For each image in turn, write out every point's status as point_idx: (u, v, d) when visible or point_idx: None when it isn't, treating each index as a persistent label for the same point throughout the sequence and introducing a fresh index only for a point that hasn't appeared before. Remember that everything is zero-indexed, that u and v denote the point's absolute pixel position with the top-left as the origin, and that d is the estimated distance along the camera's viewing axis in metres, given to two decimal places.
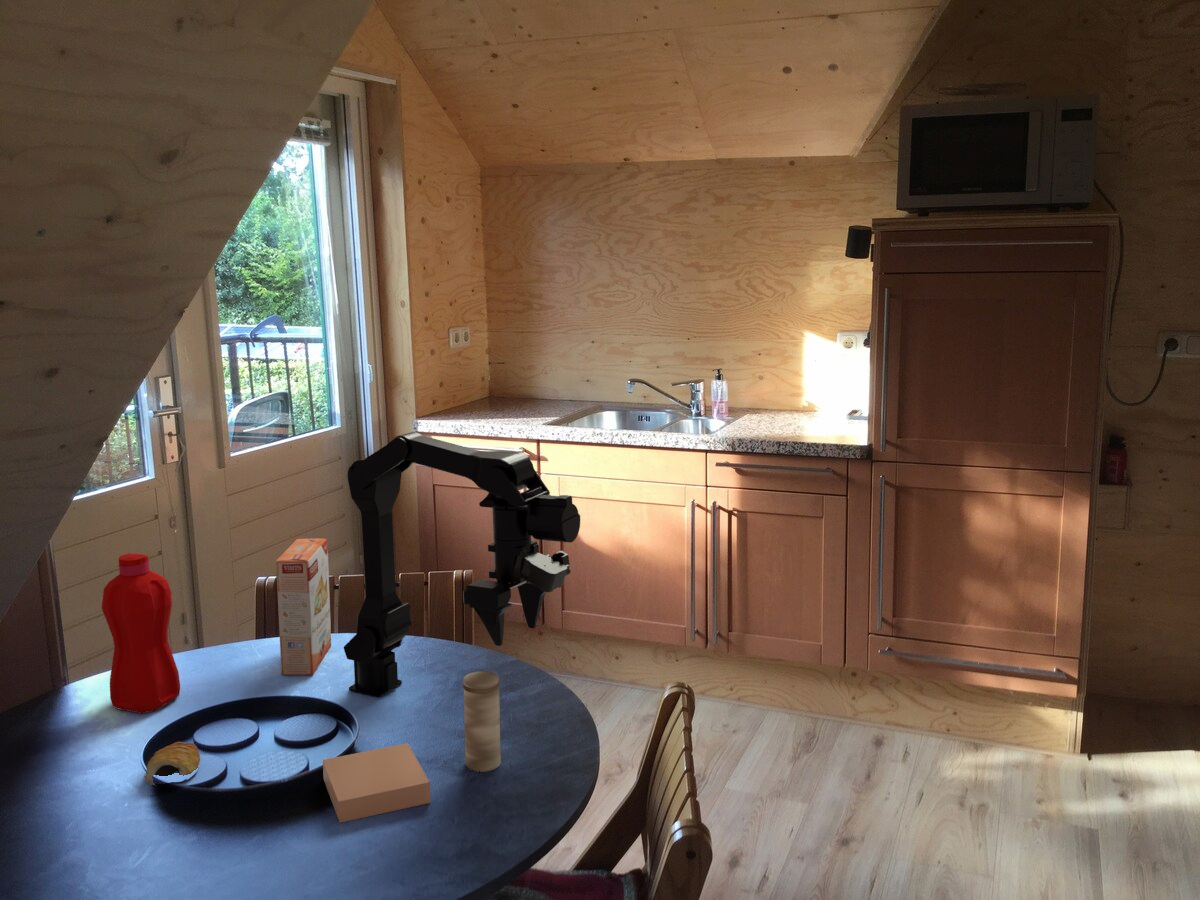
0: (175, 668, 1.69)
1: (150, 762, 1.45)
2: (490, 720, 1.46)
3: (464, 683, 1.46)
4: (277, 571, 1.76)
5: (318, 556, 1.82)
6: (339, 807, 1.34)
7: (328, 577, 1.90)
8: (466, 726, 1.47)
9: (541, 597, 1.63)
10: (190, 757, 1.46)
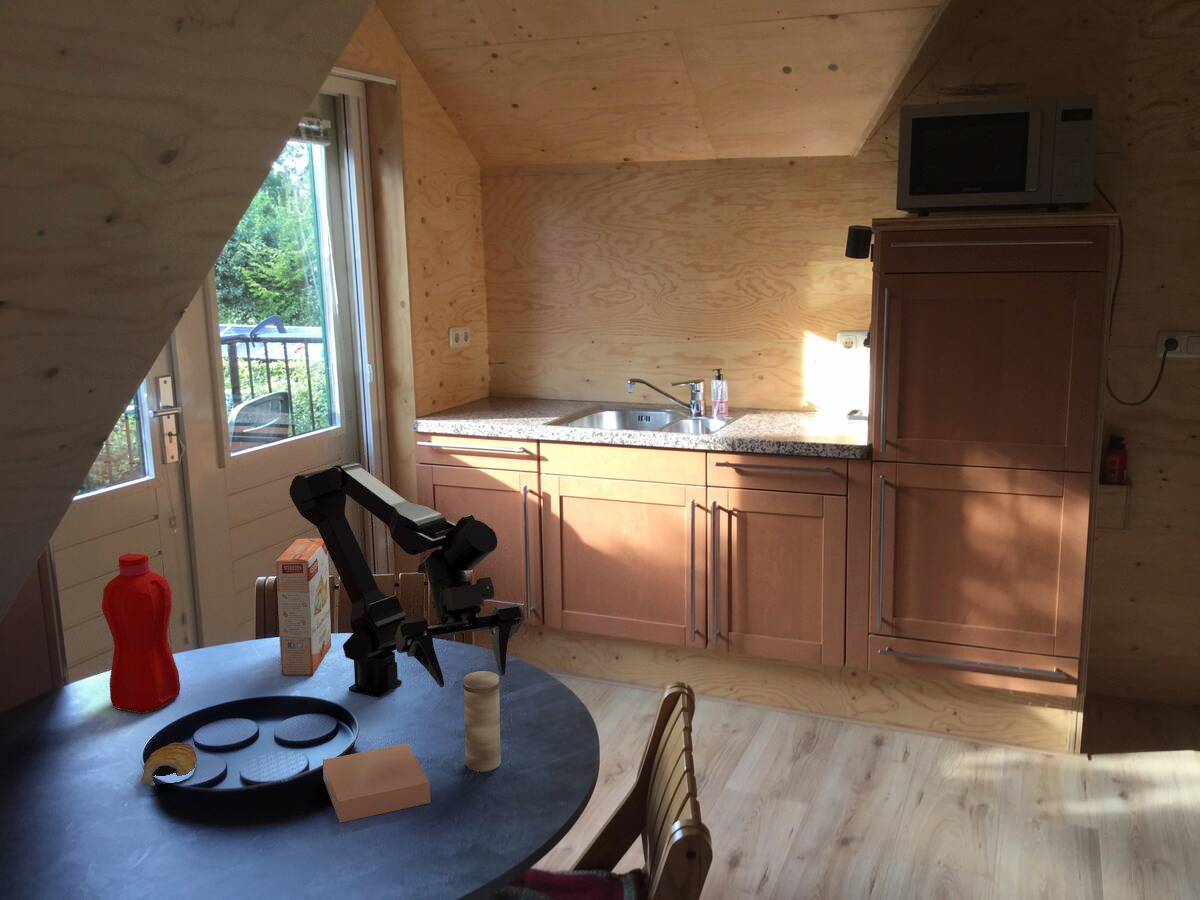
0: (175, 668, 1.69)
1: (147, 763, 1.44)
2: (490, 720, 1.46)
3: (464, 683, 1.46)
4: (277, 571, 1.76)
5: (318, 556, 1.82)
6: (339, 807, 1.34)
7: (328, 577, 1.90)
8: (466, 726, 1.47)
9: (502, 640, 1.55)
10: (187, 757, 1.46)
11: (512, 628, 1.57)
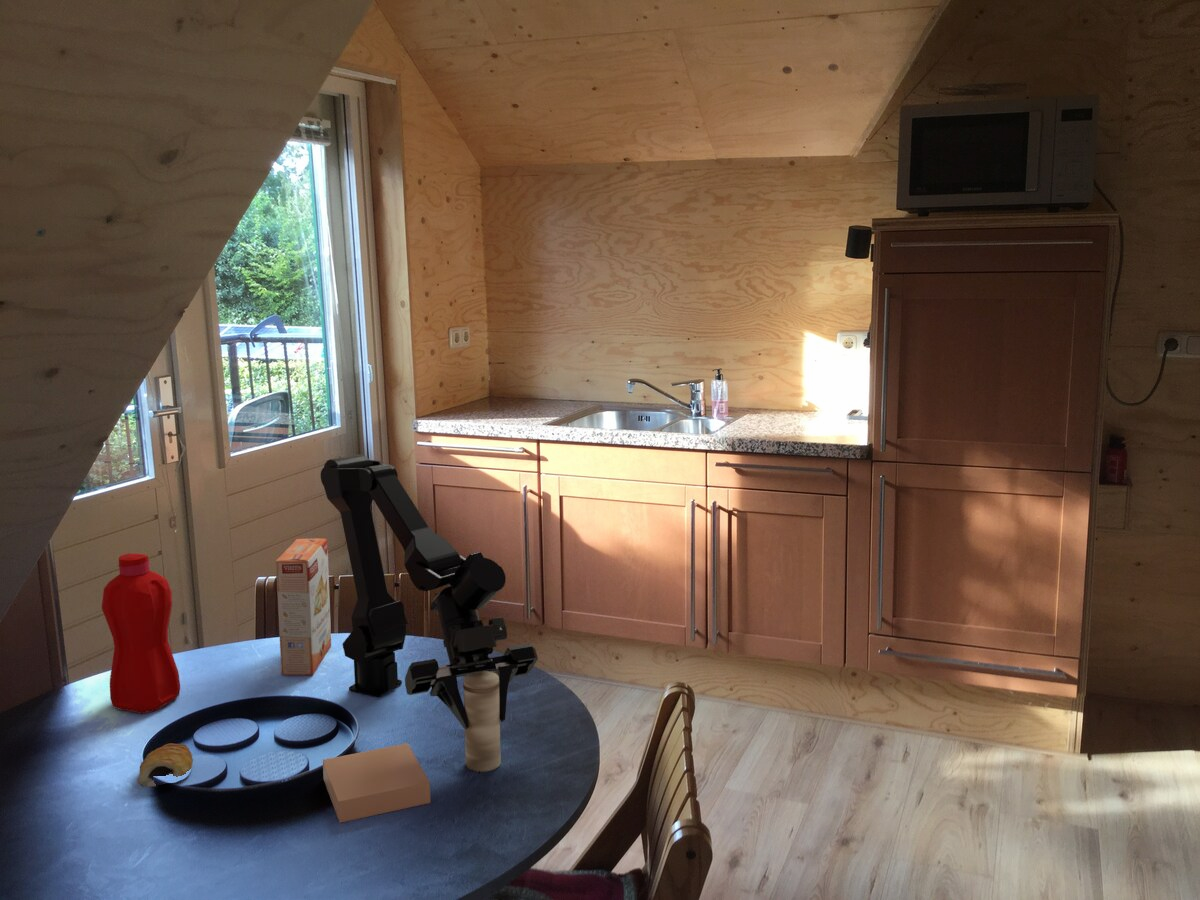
0: (175, 668, 1.69)
1: (143, 764, 1.44)
2: (490, 720, 1.46)
3: (464, 683, 1.46)
4: (277, 571, 1.76)
5: (318, 556, 1.82)
6: (339, 807, 1.34)
7: (328, 577, 1.90)
8: None
9: (502, 684, 1.50)
10: (183, 758, 1.46)
11: (513, 671, 1.52)
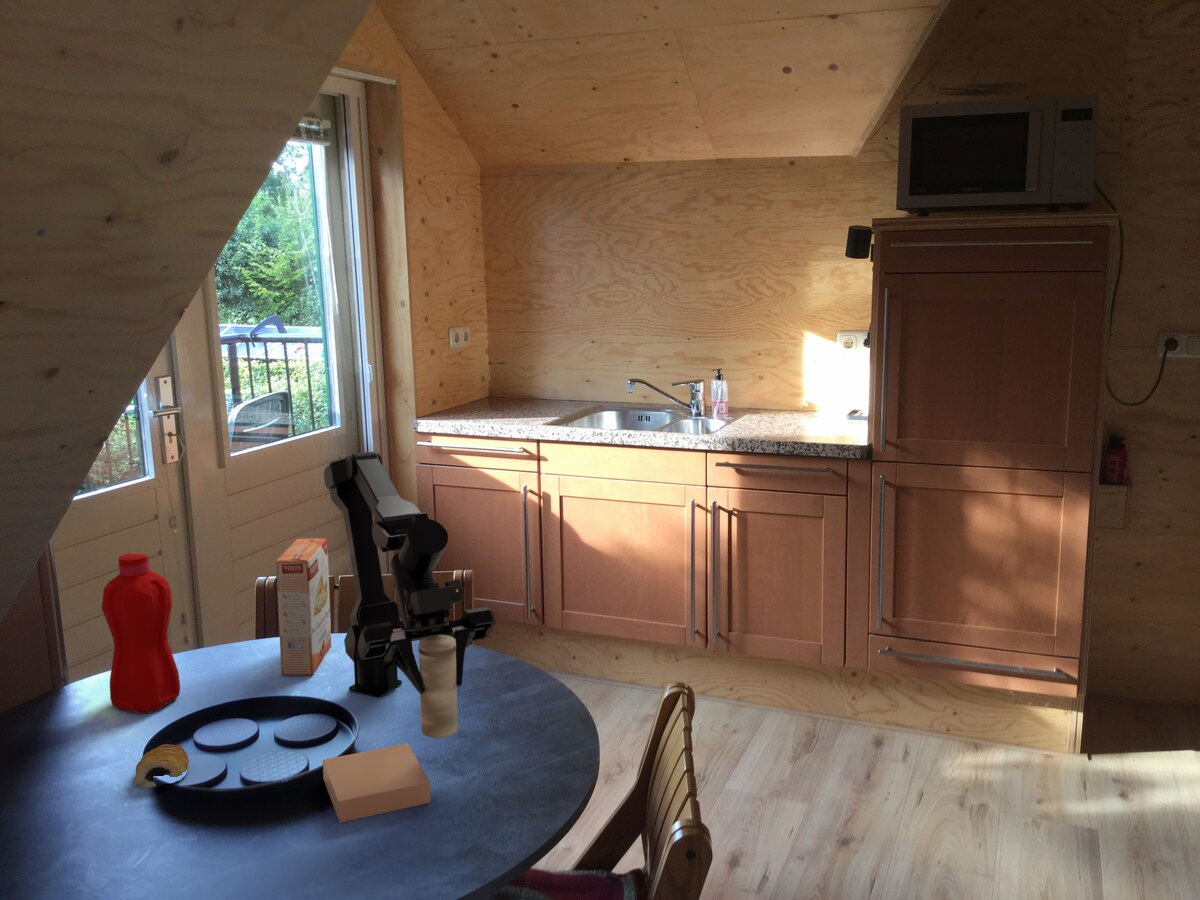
0: (175, 668, 1.69)
1: (139, 765, 1.44)
2: (446, 685, 1.42)
3: (419, 646, 1.42)
4: (277, 571, 1.76)
5: (318, 556, 1.82)
6: (339, 807, 1.34)
7: (328, 577, 1.90)
8: None
9: (459, 648, 1.46)
10: (180, 759, 1.46)
11: (470, 635, 1.47)
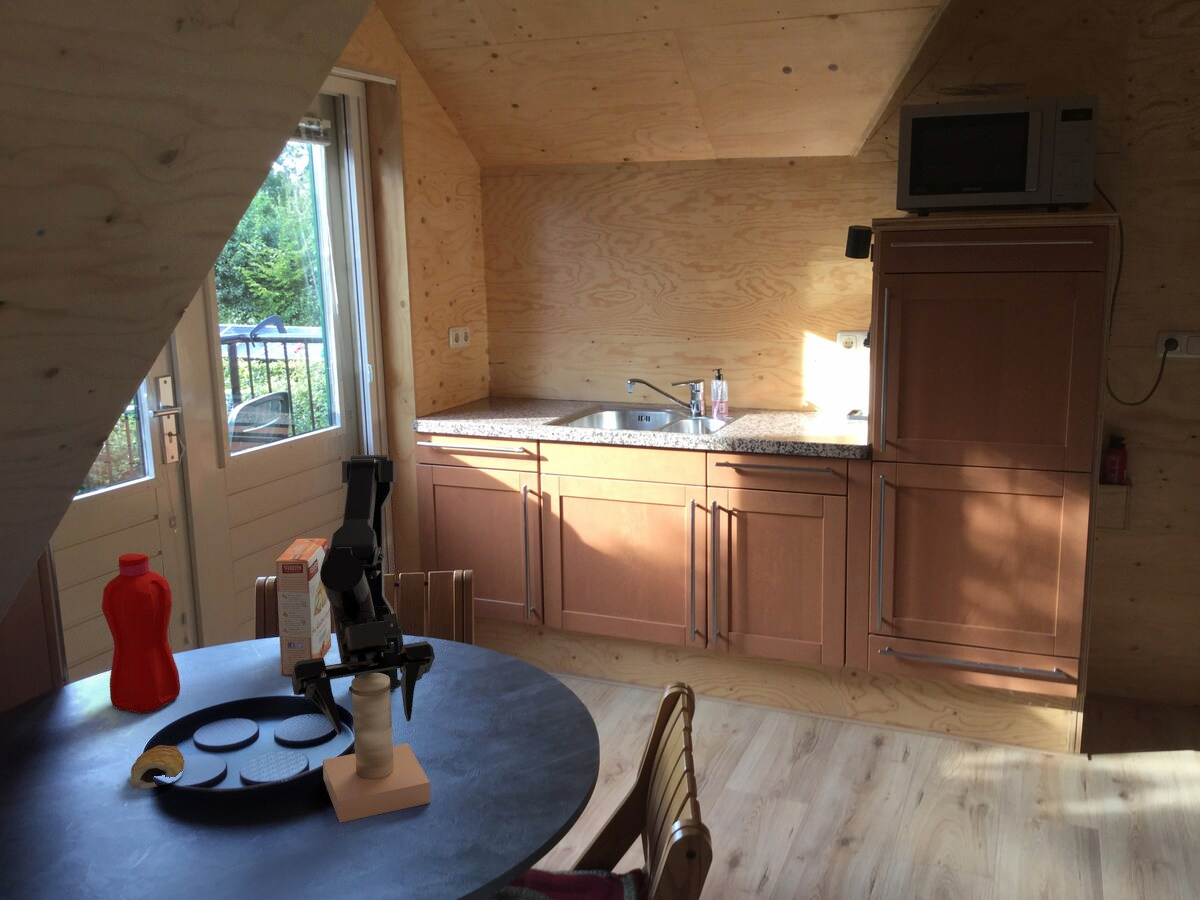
0: (175, 668, 1.69)
1: (135, 766, 1.44)
2: (379, 725, 1.38)
3: (352, 685, 1.38)
4: (277, 571, 1.76)
5: (318, 556, 1.82)
6: (339, 807, 1.34)
7: None
8: (355, 731, 1.39)
9: (409, 681, 1.42)
10: (175, 759, 1.46)
11: (421, 668, 1.44)
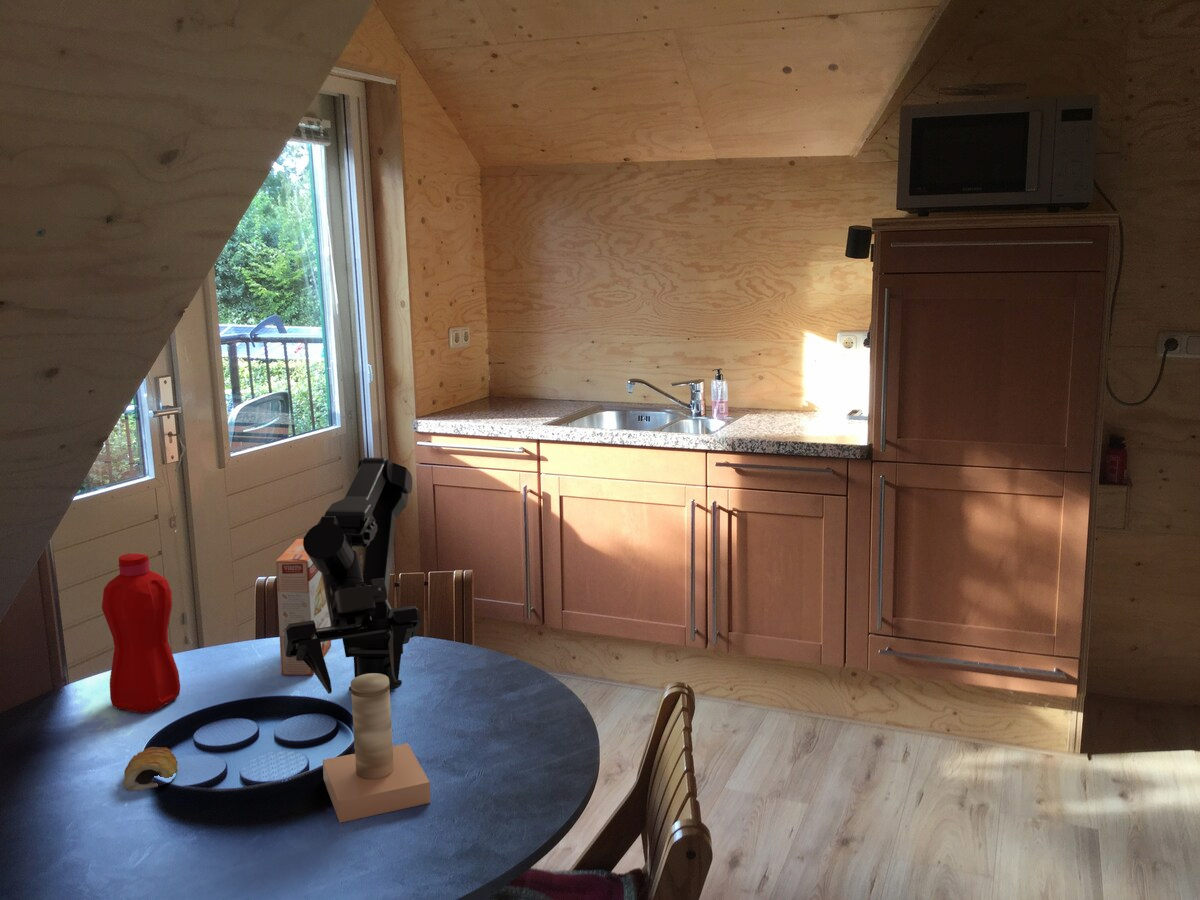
0: (175, 668, 1.69)
1: (128, 768, 1.43)
2: (379, 726, 1.38)
3: (351, 686, 1.38)
4: (277, 571, 1.76)
5: None
6: (339, 807, 1.34)
7: None
8: (354, 732, 1.39)
9: (396, 643, 1.48)
10: (169, 760, 1.45)
11: (408, 632, 1.50)
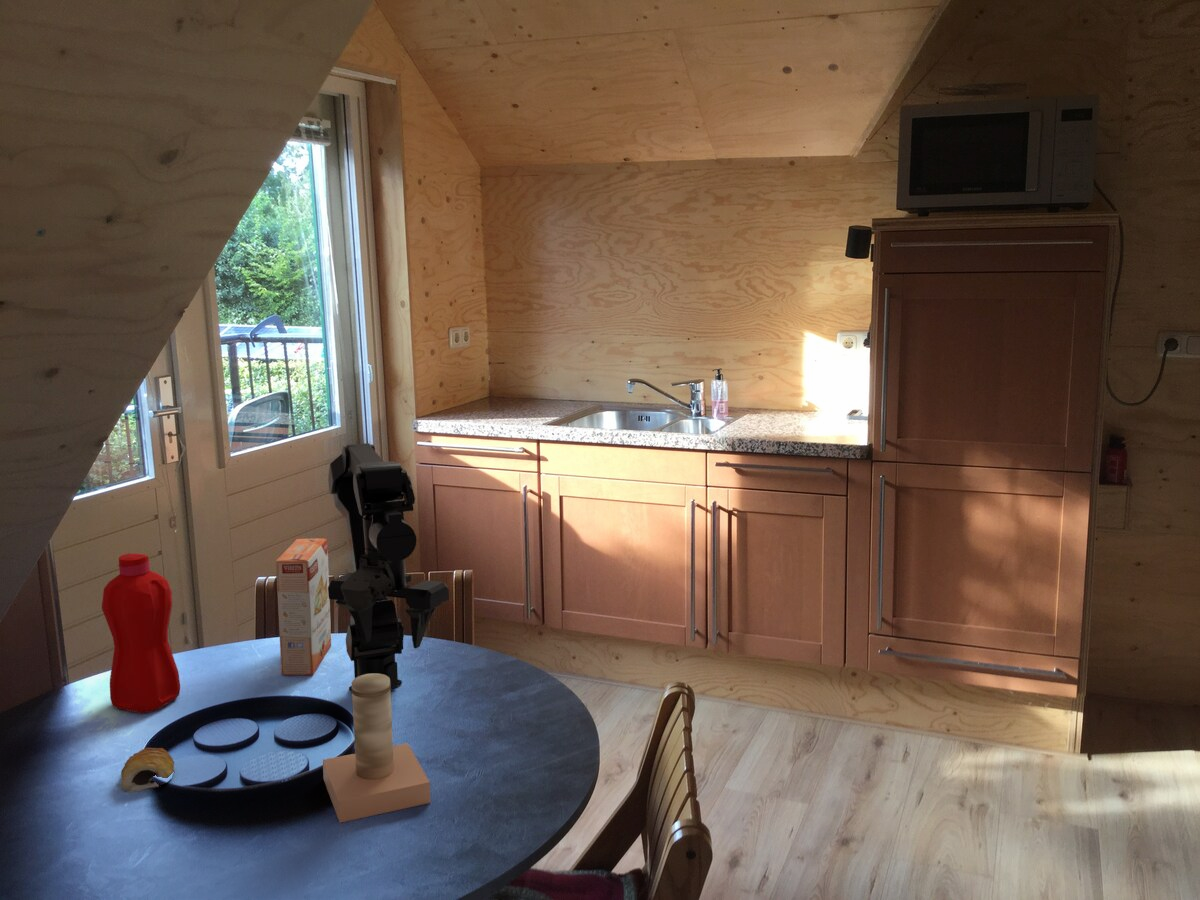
0: (175, 668, 1.69)
1: (125, 769, 1.43)
2: (380, 726, 1.38)
3: (352, 687, 1.38)
4: (277, 571, 1.76)
5: (318, 556, 1.82)
6: (339, 807, 1.34)
7: (328, 577, 1.90)
8: (355, 732, 1.39)
9: (413, 620, 1.56)
10: (166, 761, 1.45)
11: None
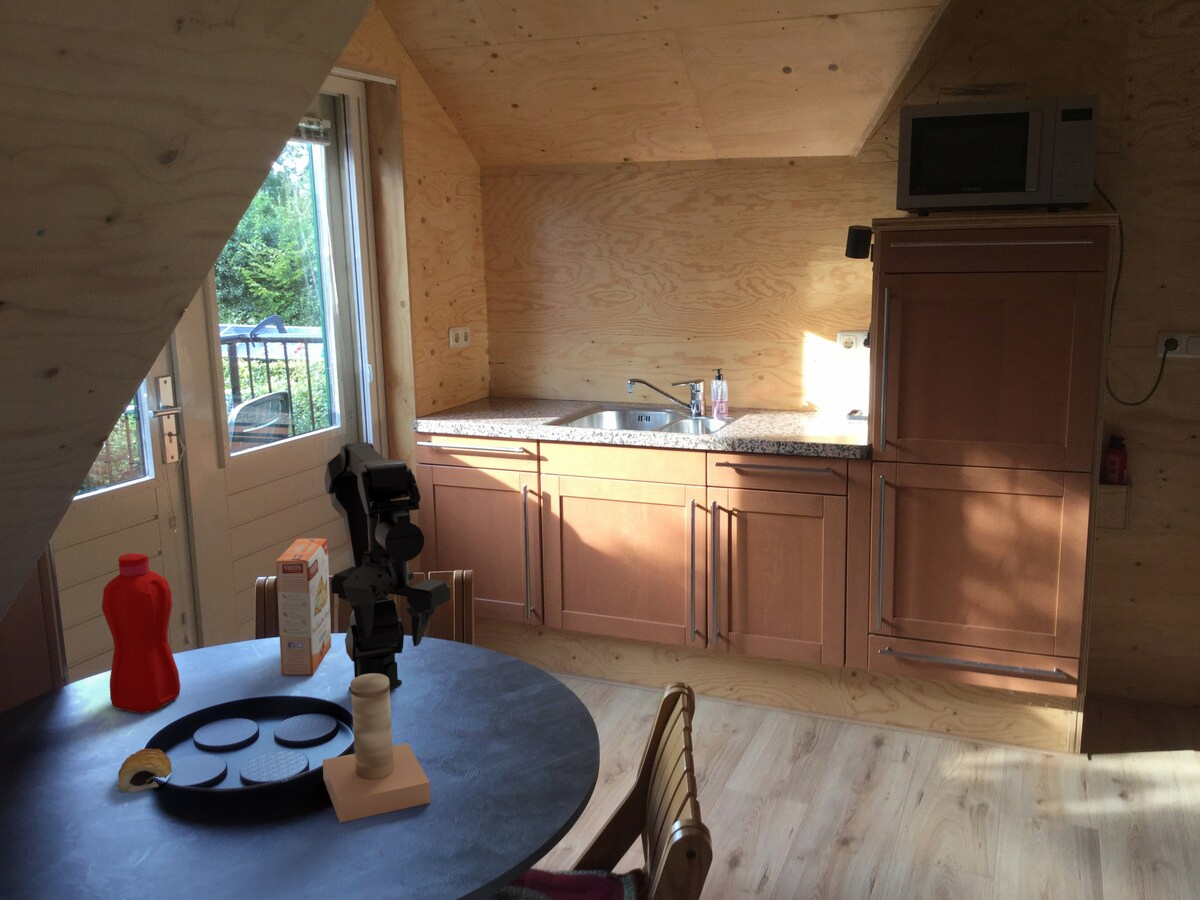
0: (175, 668, 1.69)
1: (122, 770, 1.43)
2: (380, 726, 1.38)
3: (351, 687, 1.38)
4: (277, 571, 1.76)
5: (318, 556, 1.82)
6: (339, 807, 1.34)
7: (328, 577, 1.90)
8: (355, 732, 1.39)
9: (414, 618, 1.56)
10: (163, 762, 1.45)
11: None
